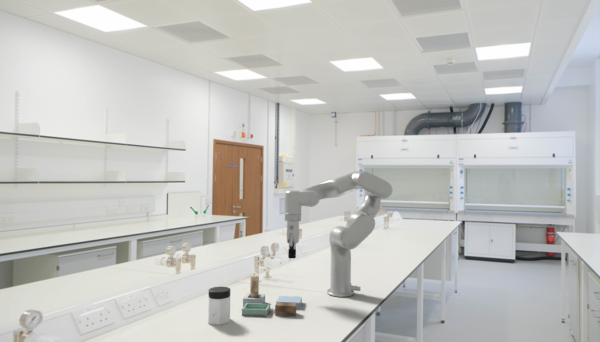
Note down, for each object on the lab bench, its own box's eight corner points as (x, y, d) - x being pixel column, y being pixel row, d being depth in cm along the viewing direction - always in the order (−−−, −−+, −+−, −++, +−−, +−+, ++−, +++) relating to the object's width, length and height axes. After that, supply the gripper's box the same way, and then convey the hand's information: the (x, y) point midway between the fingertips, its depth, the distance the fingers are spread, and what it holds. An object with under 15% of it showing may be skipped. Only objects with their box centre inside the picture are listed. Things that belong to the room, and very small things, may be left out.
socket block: (265, 302, 180) (265, 294, 180) (261, 307, 172) (261, 299, 172) (247, 301, 181) (247, 293, 181) (242, 306, 173) (243, 298, 173)
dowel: (259, 303, 178) (259, 275, 178) (257, 305, 175) (257, 277, 175) (251, 303, 178) (251, 275, 179) (249, 305, 175) (249, 277, 175)
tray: (270, 310, 169) (270, 303, 169) (266, 316, 161) (267, 310, 161) (246, 309, 170) (246, 302, 170) (241, 315, 162) (241, 309, 162)
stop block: (296, 313, 166) (296, 303, 166) (295, 316, 162) (295, 306, 162) (276, 312, 166) (276, 302, 167) (275, 315, 163) (275, 305, 163)
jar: (202, 323, 153) (203, 290, 153) (213, 316, 161) (214, 285, 161) (224, 326, 150) (225, 293, 150) (234, 319, 158) (235, 287, 158)
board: (301, 303, 180) (301, 296, 180) (300, 310, 171) (300, 302, 171) (279, 302, 181) (279, 295, 181) (276, 309, 172) (276, 301, 172)
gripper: (299, 219, 180) (298, 261, 180) (302, 216, 195) (301, 255, 194) (282, 218, 181) (281, 260, 180) (286, 216, 196) (285, 254, 195)
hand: (292, 257), depth 187 cm, fingers closed
